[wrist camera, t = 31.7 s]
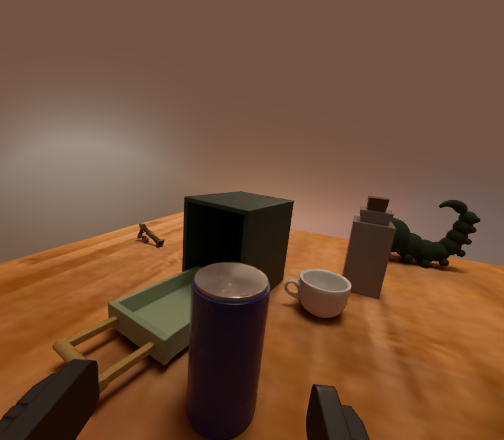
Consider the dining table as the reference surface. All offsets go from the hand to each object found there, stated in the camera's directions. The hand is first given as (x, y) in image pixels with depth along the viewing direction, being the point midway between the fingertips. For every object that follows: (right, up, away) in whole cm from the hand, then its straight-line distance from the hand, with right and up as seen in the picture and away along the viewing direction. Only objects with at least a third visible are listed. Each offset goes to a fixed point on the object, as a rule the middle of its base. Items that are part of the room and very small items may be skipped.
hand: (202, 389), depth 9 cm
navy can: (-1, -11, +14) cm, 18 cm away
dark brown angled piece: (-24, 0, +51) cm, 57 cm away
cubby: (-1, -6, +36) cm, 36 cm away
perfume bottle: (+23, -7, +40) cm, 47 cm away
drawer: (-9, -7, +22) cm, 25 cm away
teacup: (+12, -8, +31) cm, 34 cm away
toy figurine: (+44, -5, +57) cm, 72 cm away
